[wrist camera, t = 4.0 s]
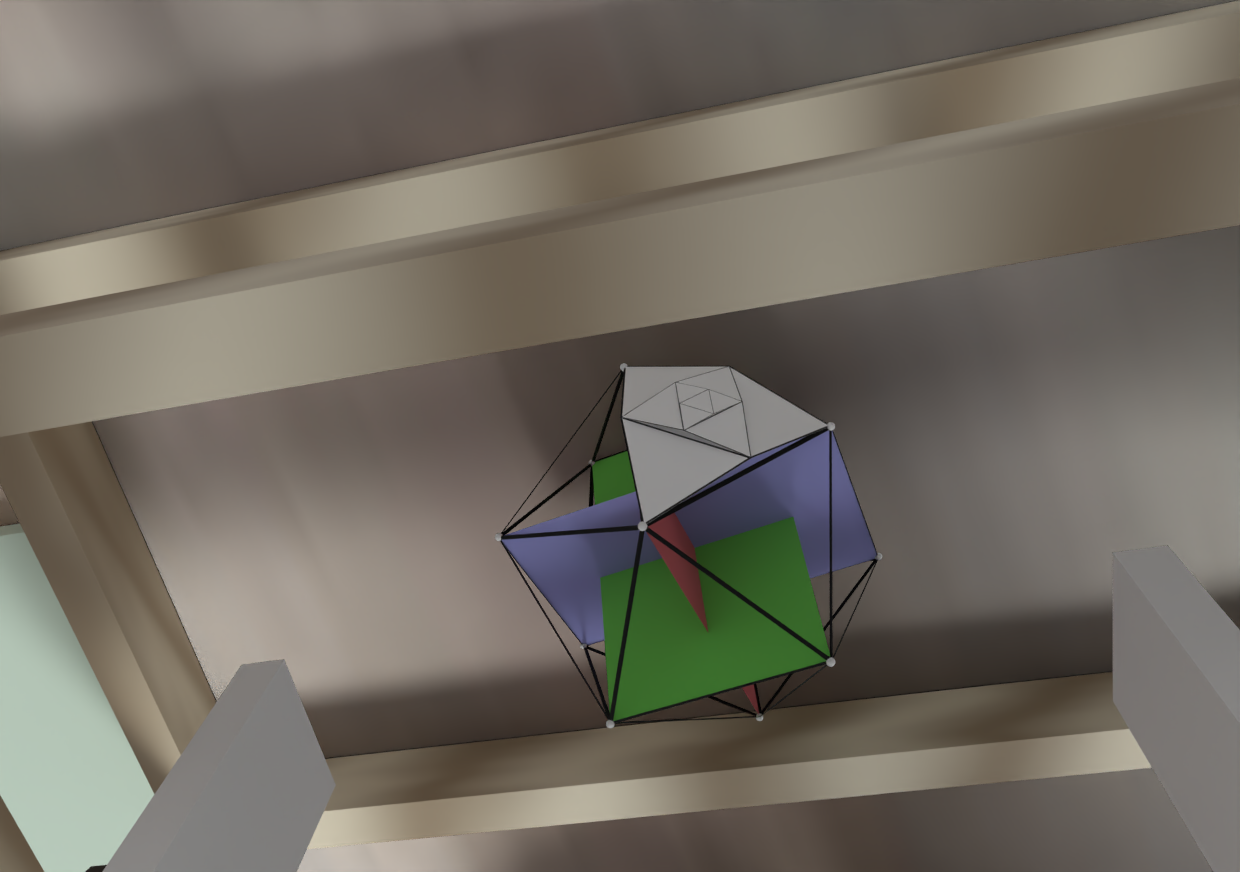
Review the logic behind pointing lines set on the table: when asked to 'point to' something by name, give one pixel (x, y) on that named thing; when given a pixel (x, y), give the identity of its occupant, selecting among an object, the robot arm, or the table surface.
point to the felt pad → (58, 728)
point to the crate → (592, 305)
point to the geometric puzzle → (700, 542)
